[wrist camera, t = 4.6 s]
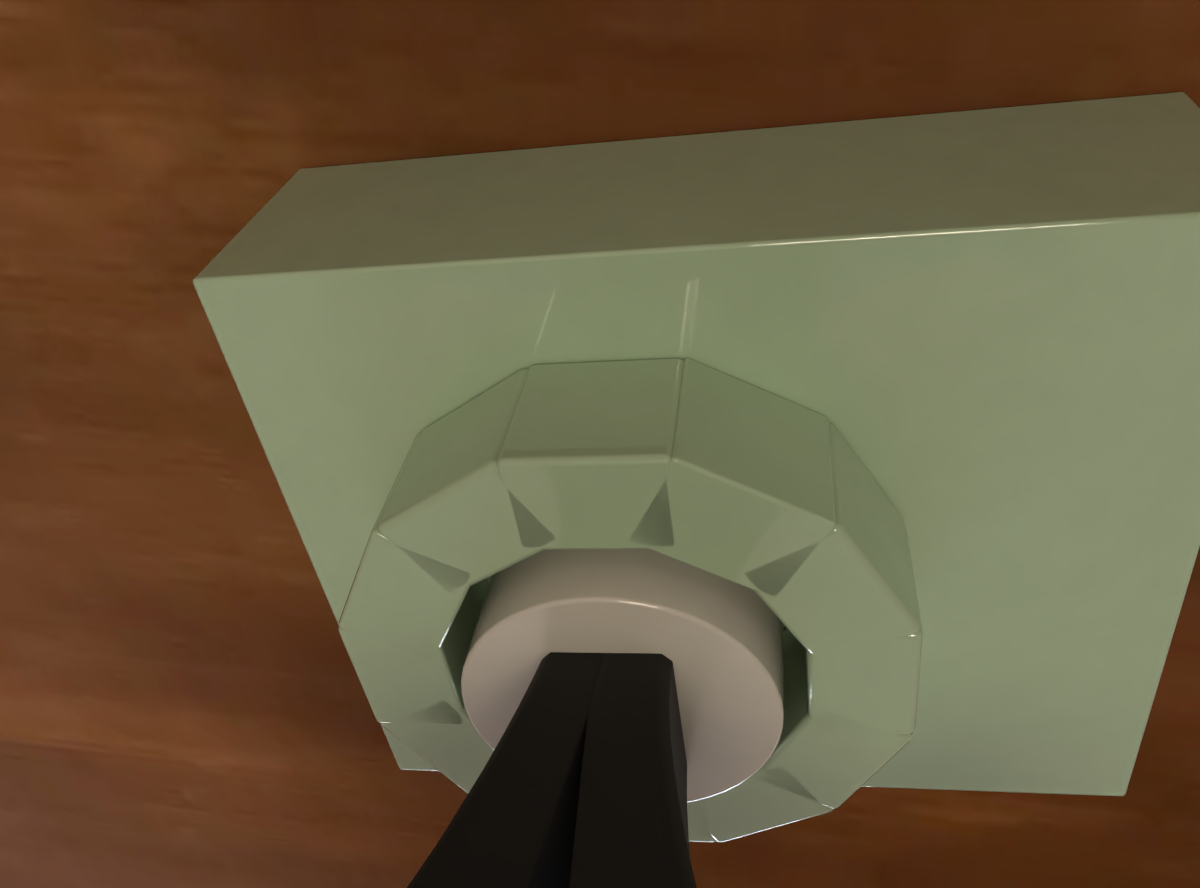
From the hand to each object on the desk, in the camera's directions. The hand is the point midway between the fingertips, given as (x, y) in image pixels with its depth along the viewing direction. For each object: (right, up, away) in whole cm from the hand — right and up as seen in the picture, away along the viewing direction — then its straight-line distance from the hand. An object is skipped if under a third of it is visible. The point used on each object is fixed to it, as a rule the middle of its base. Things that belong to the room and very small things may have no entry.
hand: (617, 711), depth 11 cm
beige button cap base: (+2, +3, +4) cm, 5 cm away
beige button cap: (0, +1, +2) cm, 2 cm away
